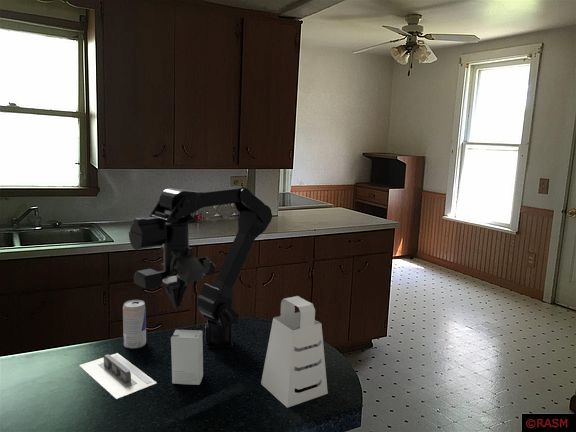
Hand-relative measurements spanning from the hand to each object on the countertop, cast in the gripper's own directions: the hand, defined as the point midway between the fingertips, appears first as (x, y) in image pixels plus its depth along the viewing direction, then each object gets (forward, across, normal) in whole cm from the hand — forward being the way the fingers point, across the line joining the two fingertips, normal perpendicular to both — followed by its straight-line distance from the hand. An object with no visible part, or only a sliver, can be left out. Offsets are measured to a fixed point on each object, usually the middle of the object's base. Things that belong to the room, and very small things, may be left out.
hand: (176, 307), depth 110 cm
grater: (+13, +12, -28) cm, 33 cm away
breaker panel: (+13, -15, 0) cm, 20 cm away
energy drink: (+13, -5, +11) cm, 18 cm away
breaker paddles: (+12, -15, 0) cm, 19 cm away
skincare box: (+13, -5, -12) cm, 18 cm away
